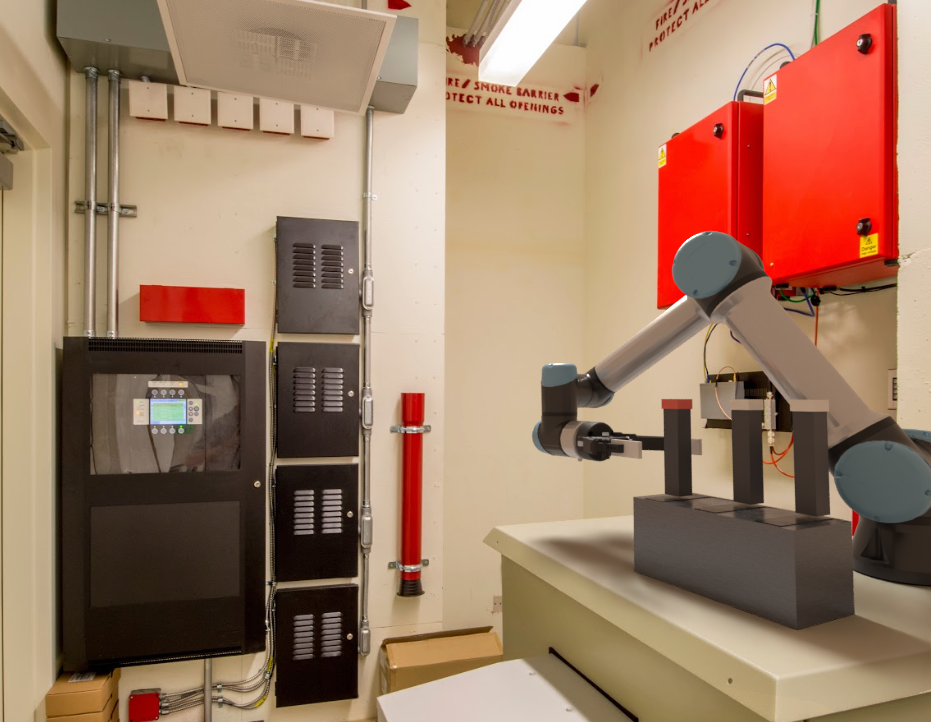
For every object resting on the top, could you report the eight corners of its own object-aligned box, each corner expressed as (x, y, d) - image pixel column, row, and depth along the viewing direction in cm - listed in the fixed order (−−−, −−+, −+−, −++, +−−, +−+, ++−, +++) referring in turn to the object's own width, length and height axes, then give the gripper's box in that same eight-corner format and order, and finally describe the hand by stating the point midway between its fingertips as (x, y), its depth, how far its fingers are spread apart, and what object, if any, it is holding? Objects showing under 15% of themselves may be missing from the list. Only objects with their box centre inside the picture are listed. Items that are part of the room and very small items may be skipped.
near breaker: (793, 512, 83) (789, 399, 84) (808, 510, 85) (805, 399, 86) (817, 517, 80) (813, 399, 81) (832, 514, 82) (828, 399, 83)
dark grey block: (634, 571, 98) (633, 496, 99) (686, 562, 104) (685, 491, 105) (796, 629, 74) (794, 529, 74) (854, 613, 79) (851, 520, 80)
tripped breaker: (662, 493, 99) (661, 399, 100) (677, 492, 101) (676, 399, 102) (679, 497, 96) (677, 399, 97) (694, 495, 98) (692, 399, 99)
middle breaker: (731, 501, 92) (729, 399, 93) (746, 499, 94) (743, 399, 95) (751, 505, 89) (748, 399, 90) (766, 503, 91) (763, 399, 92)
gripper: (637, 457, 124) (723, 467, 105) (536, 462, 113) (613, 475, 94) (636, 420, 125) (722, 424, 106) (536, 422, 113) (612, 427, 94)
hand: (671, 448), depth 100 cm, fingers open, 13 cm apart
